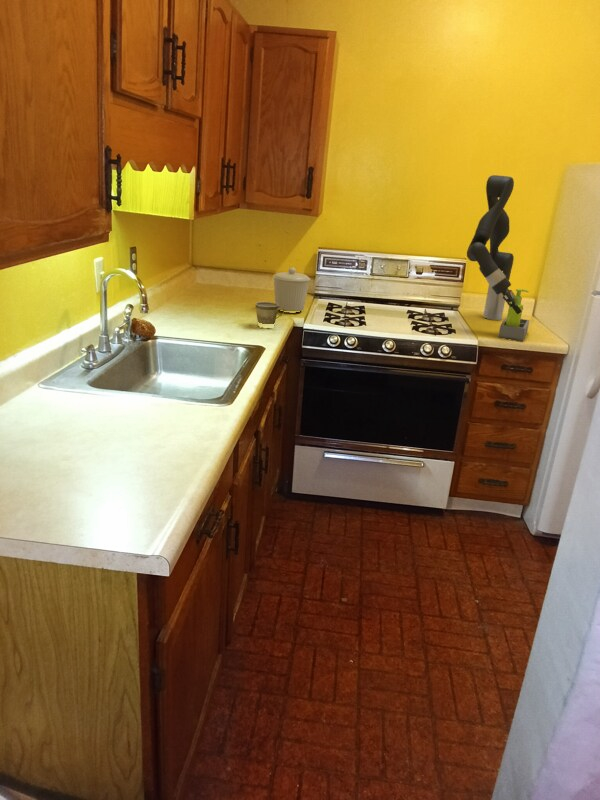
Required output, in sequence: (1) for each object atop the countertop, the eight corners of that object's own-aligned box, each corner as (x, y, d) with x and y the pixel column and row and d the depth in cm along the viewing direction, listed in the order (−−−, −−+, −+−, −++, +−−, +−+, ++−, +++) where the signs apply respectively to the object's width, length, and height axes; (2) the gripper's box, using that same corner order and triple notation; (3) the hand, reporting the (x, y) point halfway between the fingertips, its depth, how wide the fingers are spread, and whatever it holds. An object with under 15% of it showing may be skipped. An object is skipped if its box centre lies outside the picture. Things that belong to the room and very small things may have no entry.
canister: (301, 307, 310) (304, 265, 303) (313, 315, 294) (316, 271, 287) (266, 307, 305) (268, 264, 297) (276, 315, 289) (279, 270, 281)
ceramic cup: (250, 327, 264) (251, 304, 261) (260, 323, 273) (261, 300, 269) (278, 332, 260) (279, 308, 256) (287, 327, 269) (288, 304, 265)
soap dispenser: (520, 335, 276) (529, 291, 269) (504, 334, 277) (513, 289, 270) (519, 332, 282) (527, 289, 275) (503, 331, 283) (511, 287, 276)
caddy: (504, 329, 295) (506, 316, 293) (527, 332, 291) (529, 320, 289) (498, 337, 277) (500, 324, 275) (522, 341, 273) (525, 328, 271)
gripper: (503, 278, 267) (526, 309, 267) (507, 274, 280) (529, 304, 279) (488, 288, 271) (511, 319, 271) (493, 284, 283) (515, 314, 283)
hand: (520, 311), depth 275 cm, fingers closed on soap dispenser, 6 cm apart
